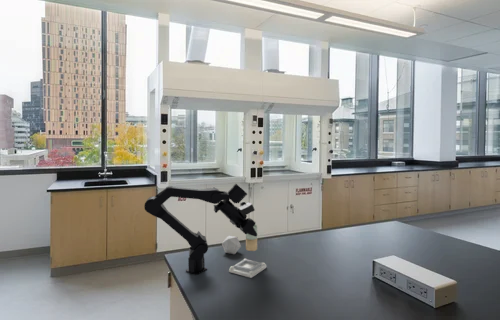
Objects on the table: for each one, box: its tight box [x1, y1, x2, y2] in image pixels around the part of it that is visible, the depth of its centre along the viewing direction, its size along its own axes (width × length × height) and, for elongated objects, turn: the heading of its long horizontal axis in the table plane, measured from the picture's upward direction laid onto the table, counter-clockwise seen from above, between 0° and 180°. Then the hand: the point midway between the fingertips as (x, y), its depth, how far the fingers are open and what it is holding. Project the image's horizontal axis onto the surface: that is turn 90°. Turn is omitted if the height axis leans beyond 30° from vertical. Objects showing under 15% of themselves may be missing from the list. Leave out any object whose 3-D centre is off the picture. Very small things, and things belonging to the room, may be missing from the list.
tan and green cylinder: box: [245, 223, 258, 252], centre depth 140 cm, size 5×5×11 cm
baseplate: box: [228, 258, 267, 279], centre depth 135 cm, size 12×11×2 cm
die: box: [221, 235, 242, 255], centre depth 155 cm, size 8×9×10 cm
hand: (254, 233), depth 141 cm, fingers closed on tan and green cylinder, 5 cm apart
